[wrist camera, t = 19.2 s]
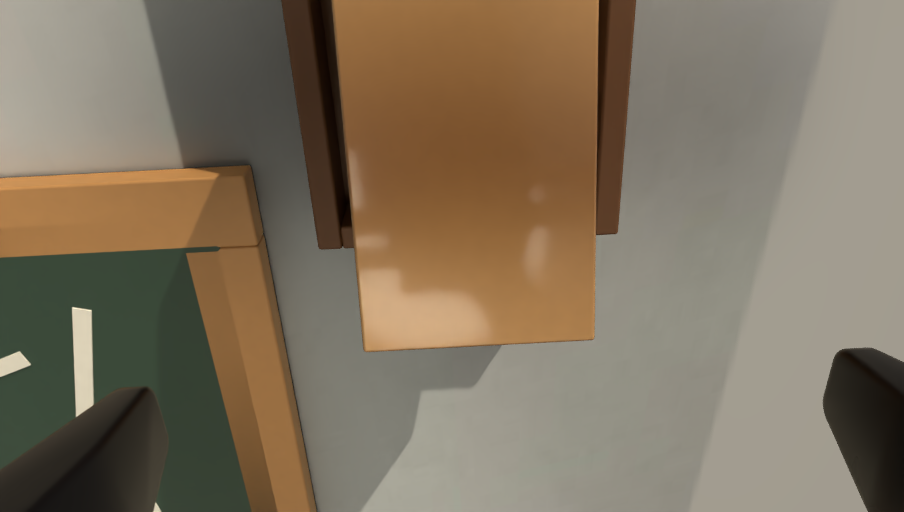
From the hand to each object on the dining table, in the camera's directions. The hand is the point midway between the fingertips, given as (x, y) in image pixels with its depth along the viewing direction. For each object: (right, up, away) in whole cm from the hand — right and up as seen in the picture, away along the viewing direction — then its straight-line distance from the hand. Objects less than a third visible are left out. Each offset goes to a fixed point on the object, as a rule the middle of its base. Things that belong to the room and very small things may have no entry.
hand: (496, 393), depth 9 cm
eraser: (0, +6, +7) cm, 9 cm away
